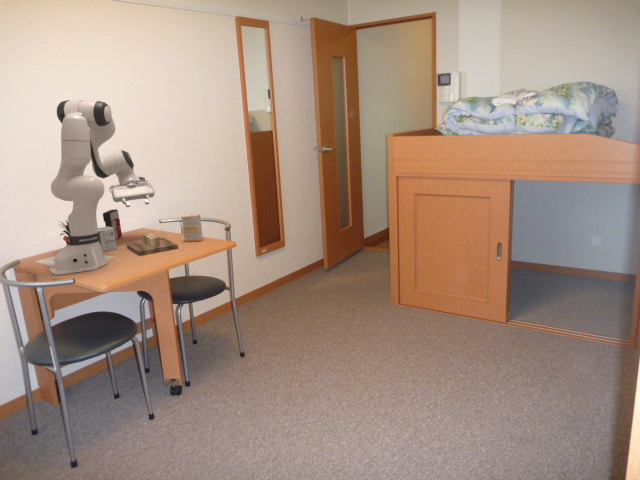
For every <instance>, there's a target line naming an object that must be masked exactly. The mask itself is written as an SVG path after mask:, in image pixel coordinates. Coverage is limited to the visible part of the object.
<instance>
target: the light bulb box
mask: <svg viewBox="0 0 640 480" xmlns="http://www.w3.org/2000/svg"><path fill="white" fill-rule="evenodd" d="M98 232H99V233H100V237H101V248H102V251H103V253H106V252H110V251H114V250H117V249H118V248H117V242H116V240H115V233H114V228H113V227H109V226H107V227H106V226H103V227H99V228H98Z"/></svg>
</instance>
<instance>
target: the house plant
mask: <svg viewBox="0 0 640 480" xmlns="http://www.w3.org/2000/svg"><path fill="white" fill-rule="evenodd" d="M58 222H59V223H58V226H60V228H61V229H64V230H62V233H60V235H59V237H60V236H61V237H62V236H67V237H68V236H69V235H70V230H69V223H68V219H65V222H66V224H65V223H63V222H62V221H61V220H58ZM60 223H61V224H60ZM64 234H65V235H64Z"/></svg>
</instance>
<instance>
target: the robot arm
mask: <svg viewBox="0 0 640 480" xmlns="http://www.w3.org/2000/svg"><path fill="white" fill-rule="evenodd" d="M56 116H57V119H58V120H59V122H60V124H61V131H60V142H61V146H60V147H61V152H60V153H61V156H60V157H61V159H60V165H59V169H58V173H57V175H56V176H55V178H54V179H53V180H52V181H51V183H50V191H51V193H52V195H53V196H54V197H56V198H57V199H59V200H62V201H66V202H72V210H71V212H70V214H69V215H68V216H67V221H68V223H69V230H70V235H69V236H68V235H66V236H65V235H63V237H62V239H63V241H64V242H65V243H66V245H65V246H64V247H63V248H61V250H60V251H59V252H57V253H56V254H55V257H54V265H53V266H51V267H50V268H49V272H50V274H52V275H55V276H62V275H68V274H75V273H81V272H88V271H95V270H97V269H100V268H101V267H103V266H106V264H108V262H107V259H106V257H105V255H104V252H103V251H102V248H101V237H100V233H99V232H98V219H97V211H98V210H97V209H98V206H99V201H100V200H101V199H102V197H103V196H104V193H105V185H104V183H103V181H102V180H101V179H106V178H108V177H110V176H113V175H116V177H117V178H118V184H114V185H111V186H110V187H108V188H109V192H110V193H111V198H112V201H113V202H115V203H120V202H121V203H122V204H123V205H125V207H126V208H130V207H131V204H130V202H127V201H135V200H142V199H143V200H144V199H145V200H144V204H145V205H149V204H150V201H149V199H151V198H154V196H155V193H156V192H155V189H154V187H153V185H152V183H151V182H150V181H149V179H148V178H147V177H145V176H139V175H136V174H135V172H134V171H135V170H134V167H135V164H134V162H133V160H132V157H131V155H130V153H129V152H128V151H125V150H123V149H121V150H118V151H115V152H112V153H110V154H106V155H103V156H100V152H99V148H100V147H101V146H102V145H103V144H104V143H106V142H108V141H109V140H111V139H112V138H113V136H114V135H115V132H116V125H115V122H114V119H113V116H112V109H111V107H110V106H109V104H107V103H106V102H104V101H101V100H99V99H89V100H84V99H74V100H62V101H60V103H59V104H58V105H57V107H56ZM90 163H91V168H92V171H93V173H94V175H95V176H97V177H95V176H91V175H85V169H86V168H87V166H88V165H89V164H90Z"/></svg>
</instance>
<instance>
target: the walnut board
mask: <svg viewBox="0 0 640 480" xmlns="http://www.w3.org/2000/svg"><path fill="white" fill-rule="evenodd" d="M159 240H160V246H155V247H151V246H149V245H147V244H145V243H143V240H141V241H137V242H131V243H127V244H126V248H127V249H128V250H130V251H131V252H133V253H135V254H137V255H138V256H140V257H141V256H146V255H150V254H151V255H152V254H156V253H161V252H168V251H172V250H178V249H179V245H178V243H176V242H173V241H171V240H169V239H166V238H164V237H159Z"/></svg>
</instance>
